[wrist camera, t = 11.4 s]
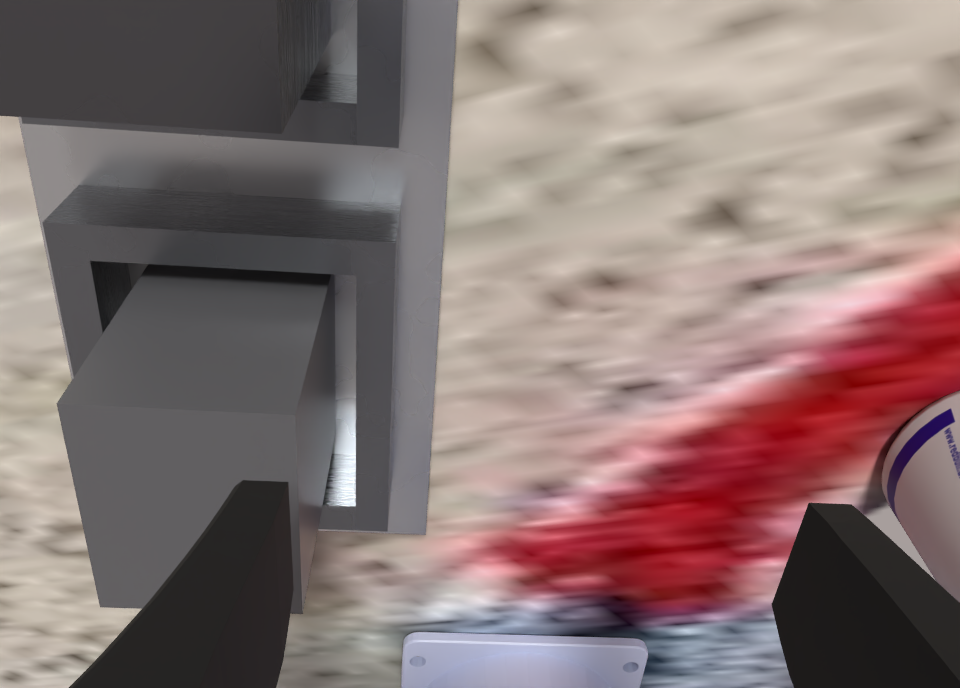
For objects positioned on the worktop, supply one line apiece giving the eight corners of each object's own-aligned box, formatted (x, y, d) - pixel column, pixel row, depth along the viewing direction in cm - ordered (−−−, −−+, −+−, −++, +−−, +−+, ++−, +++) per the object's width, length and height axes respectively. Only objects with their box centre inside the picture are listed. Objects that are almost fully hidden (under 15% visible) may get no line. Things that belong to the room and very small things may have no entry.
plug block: (335, 432, 23) (302, 613, 18) (179, 424, 22) (100, 606, 17) (334, 260, 20) (295, 415, 15) (157, 249, 20) (57, 403, 15)
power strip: (426, 510, 26) (418, 724, 20) (112, 498, 25) (7, 715, 19) (478, -352, 15) (496, -452, 9) (-60, -408, 15) (-412, -552, 9)
